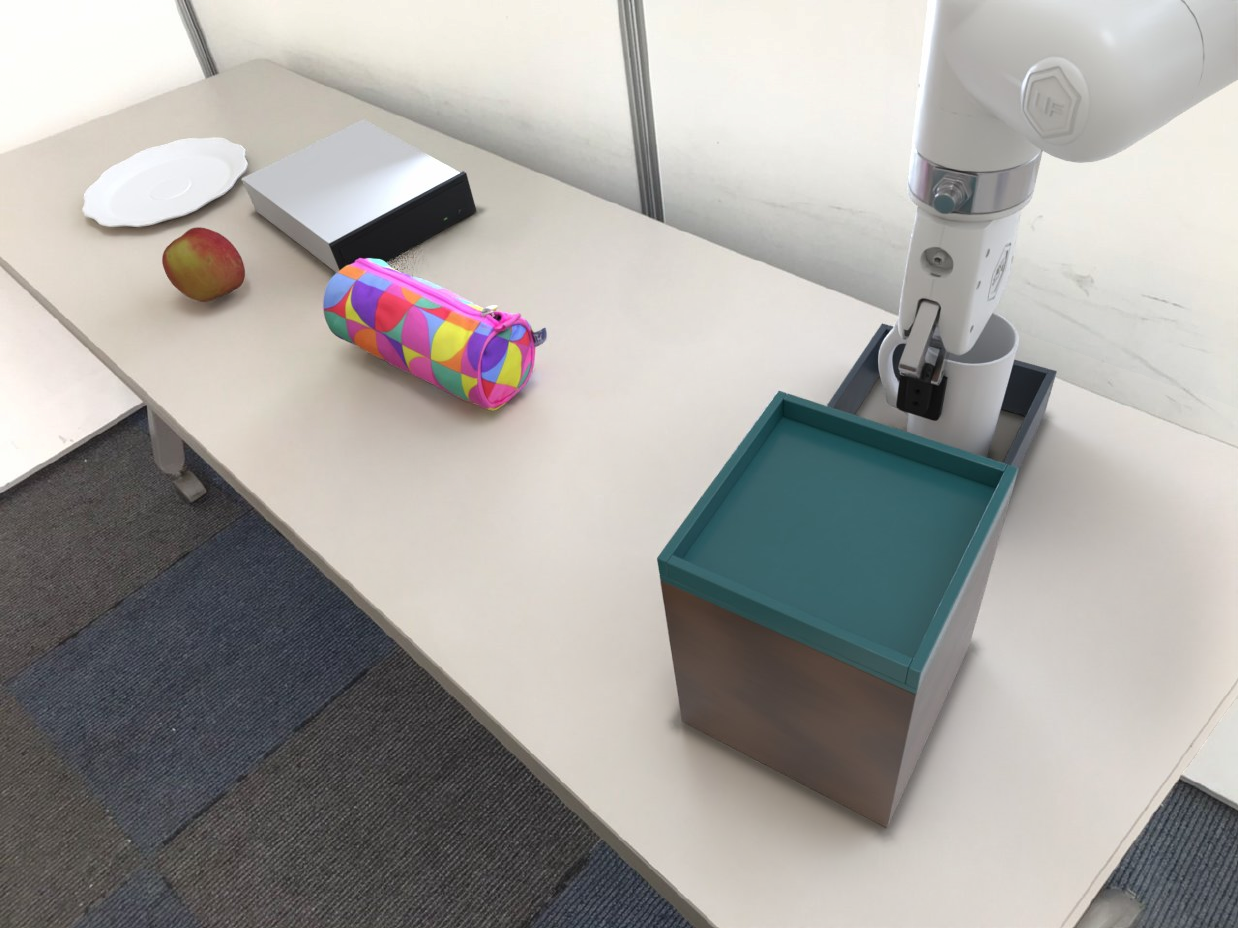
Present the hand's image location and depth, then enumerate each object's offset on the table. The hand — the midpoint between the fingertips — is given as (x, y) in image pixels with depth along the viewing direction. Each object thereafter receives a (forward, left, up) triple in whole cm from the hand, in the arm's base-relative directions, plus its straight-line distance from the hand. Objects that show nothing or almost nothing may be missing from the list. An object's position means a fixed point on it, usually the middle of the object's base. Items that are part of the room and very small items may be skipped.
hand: (936, 379), depth 71 cm
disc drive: (+71, -7, -7) cm, 72 cm away
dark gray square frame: (0, 0, -7) cm, 7 cm away
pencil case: (+44, +10, -7) cm, 46 cm away
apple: (+75, +12, -7) cm, 76 cm away
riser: (-2, +24, -7) cm, 25 cm away
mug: (0, 0, -7) cm, 7 cm away
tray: (-2, +24, +9) cm, 25 cm away
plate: (+100, -1, -7) cm, 100 cm away
